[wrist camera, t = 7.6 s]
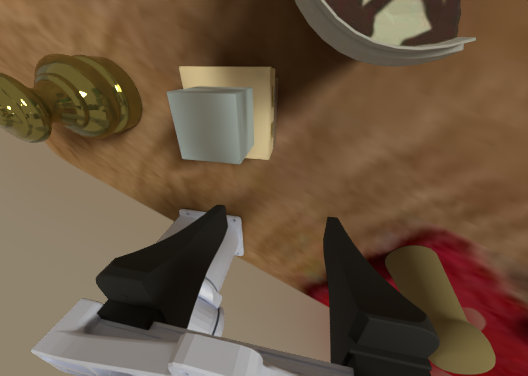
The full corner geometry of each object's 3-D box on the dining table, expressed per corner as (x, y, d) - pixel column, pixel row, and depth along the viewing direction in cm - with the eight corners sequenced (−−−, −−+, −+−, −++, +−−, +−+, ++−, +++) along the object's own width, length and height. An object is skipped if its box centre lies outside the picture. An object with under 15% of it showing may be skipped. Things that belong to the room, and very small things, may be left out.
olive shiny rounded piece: (154, 127, 23) (65, 162, 15) (103, 129, 25) (-3, 162, 16) (125, 51, 19) (-17, 39, 11) (68, 60, 21) (-95, 56, 12)
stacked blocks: (206, 145, 20) (170, 173, 15) (194, 66, 17) (140, 66, 11) (272, 150, 19) (258, 182, 14) (275, 66, 15) (257, 67, 10)
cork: (376, 269, 28) (409, 369, 19) (398, 240, 24) (451, 345, 15) (421, 280, 27) (477, 389, 18) (449, 252, 24) (536, 368, 15)
